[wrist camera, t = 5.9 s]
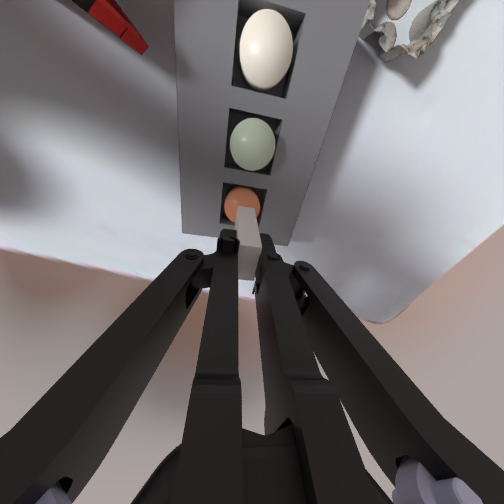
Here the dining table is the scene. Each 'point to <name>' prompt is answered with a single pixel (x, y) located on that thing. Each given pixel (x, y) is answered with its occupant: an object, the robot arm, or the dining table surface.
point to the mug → (114, 21)
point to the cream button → (265, 50)
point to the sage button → (252, 144)
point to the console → (256, 105)
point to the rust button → (240, 200)
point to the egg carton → (420, 30)
